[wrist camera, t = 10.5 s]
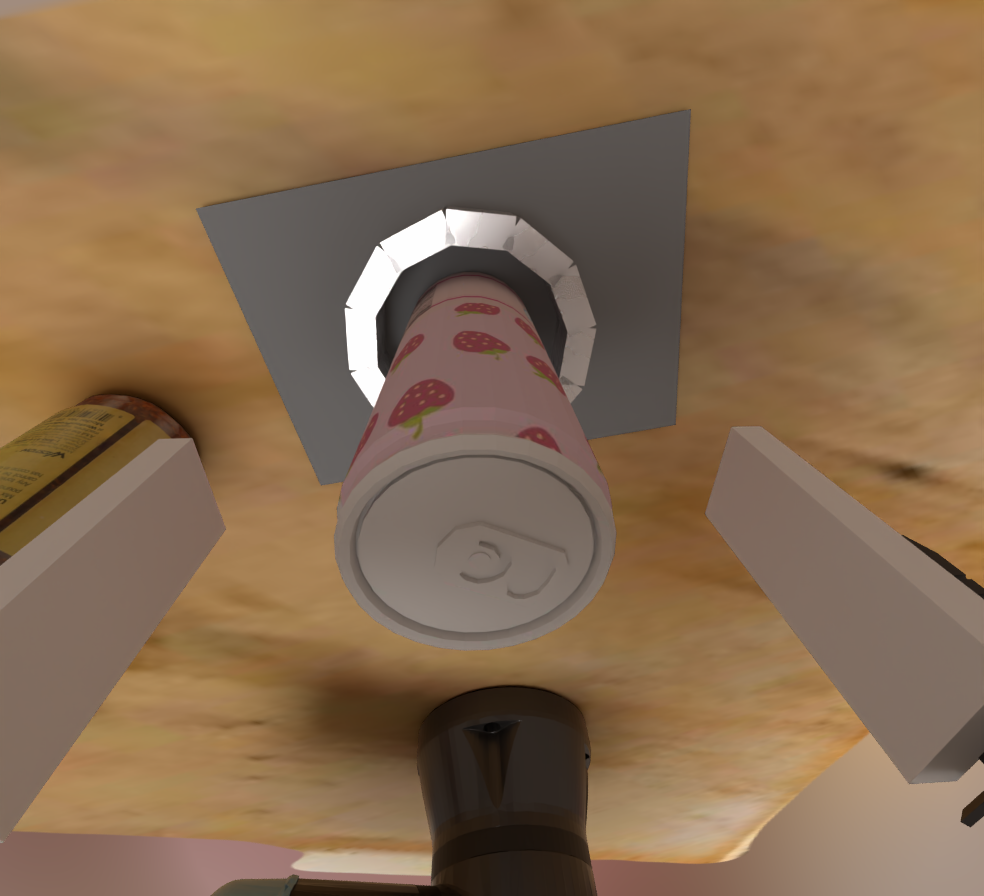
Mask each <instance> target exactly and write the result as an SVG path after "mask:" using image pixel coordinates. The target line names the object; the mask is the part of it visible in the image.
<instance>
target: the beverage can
mask: <svg viewBox="0 0 984 896" xmlns="http://www.w3.org/2000/svg"><path fill="white" fill-rule="evenodd" d="M337 519H338V521H337V525H336V530H335V534H334V543H335V559H336V561H337V564H338V567H339V570H340V573H341V576H342V579H343V581H344V583H345V585H346V587H347V588H348V590H349V591H350V593H351V594H352V596H353V597H354V599H355V600H356V602H357V603H358V605H359V606H360V607H361V608H362V609H363V610H364V611H366V612H367V613H368V614H369V615H370V616H371V617H372V618H373V619H374V620H375V621H377V622H378V623H380V624H381V625H383V626H385V627H386V628H388V629H389V630H391V631H392V632H394V633H396V634H399V635H401V636H403V637H406V638H408V639H410V640H413V641H415V642H419V643H423V644H427V645H431V646H434V647H438V648H446V649H456V650H490V649H496V648H503V647H509V646H514V645H517V644H520V643H524V642H527V641H530V640H534V639H536V638H539V637H541V636H543V635H545V634H547V633H549V632H551V631H554V630H556V629H558V628H559V627H560V626H562V625H563V624H565V623H566V622H568V621H569V620H571V619H572V618H574V617H575V616H576V615H577V614H578V613H579V612H581V611H582V610H583V609H584V608H585V607H586V606H587V605H588V604H589V603H590V602H591V601H592V599H593V598H594V596H595V595H596V593H597V592H598V590H599V589H600V587H601V586H602V584H603V583H604V580H605V578H606V576H607V573H608V571H609V568H610V565H611V562H612V560H613V557H614V554H615V543H616V528H615V523H614V518H613V513H612V503H611V498H610V493H609V488H608V484H607V481H606V479H605V477H604V475H603V473H602V471H601V468H600V466H599V464H598V462H597V460H596V458H595V456H594V453H593V451H592V449H591V447H590V445H589V443H588V441H587V438H586V436H585V434H584V432H583V430H582V428H581V425H580V423H579V421H578V419H577V417H576V415H575V413H574V410H573V408H572V406H571V404H570V402H569V400H568V398H567V395H566V393H565V391H564V389H563V387H562V385H561V382H560V380H559V378H558V376H557V374H556V372H555V370H554V367H553V365H552V363H551V361H550V359H549V357H548V355H547V352H546V350H545V348H544V346H543V344H542V342H541V339H540V337H539V335H538V333H537V331H536V329H535V327H534V324H533V322H532V320H531V318H530V316H529V314H528V312H527V309H526V307H525V305H524V303H523V301H522V300H521V298H520V297H519V296H518V295H517V293H516V292H515V291H514V290H513V289H512V288H511V287H509V286H508V285H507V284H506V283H504V282H503V281H501V280H499V279H497V278H495V277H493V276H491V275H487V274H483V273H479V272H462V273H457V274H452V275H449V276H447V277H445V278H442V279H440V280H438V281H437V282H436V283H434V284H433V285H432V286H430V287H429V288H428V289H427V290H426V291H425V292H424V294H423V295H422V296H421V297H420V298H419V300H418V302H417V304H416V306H415V308H414V310H413V312H412V315H411V317H410V320H409V322H408V324H407V327H406V329H405V332H404V334H403V337H402V339H401V342H400V344H399V347H398V349H397V352H396V354H395V357H394V359H393V362H392V364H391V366H390V369H389V371H388V374H387V376H386V379H385V381H384V384H383V386H382V389H381V391H380V394H379V396H378V399H377V401H376V403H375V406H374V408H373V411H372V413H371V416H370V418H369V421H368V423H367V426H366V428H365V431H364V433H363V436H362V438H361V441H360V443H359V445H358V448H357V450H356V453H355V455H354V458H353V460H352V463H351V465H350V468H349V470H348V473H347V475H346V478H345V480H344V483H343V485H342V489H341V493H340V498H339V502H338V506H337Z"/></svg>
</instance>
